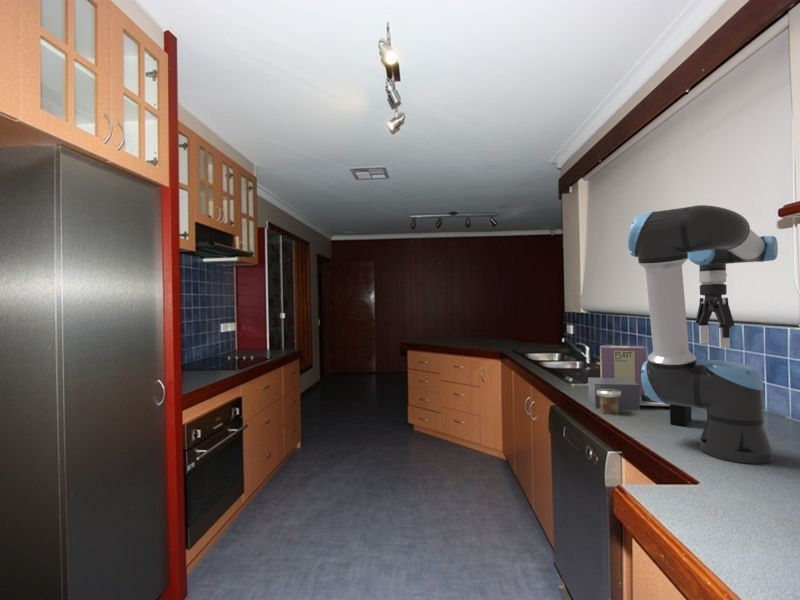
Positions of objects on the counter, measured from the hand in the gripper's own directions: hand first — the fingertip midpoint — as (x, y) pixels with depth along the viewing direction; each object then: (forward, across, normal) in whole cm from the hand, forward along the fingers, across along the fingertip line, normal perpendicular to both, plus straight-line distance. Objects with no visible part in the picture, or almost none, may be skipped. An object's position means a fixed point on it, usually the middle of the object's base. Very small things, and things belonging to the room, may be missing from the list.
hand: (714, 345), depth 151 cm
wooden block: (+24, +1, +34) cm, 41 cm away
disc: (+18, +1, +34) cm, 38 cm away
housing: (+24, +13, +29) cm, 40 cm away
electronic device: (+24, -11, +15) cm, 30 cm away
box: (+24, +33, +20) cm, 45 cm away
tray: (+23, +12, +17) cm, 31 cm away
